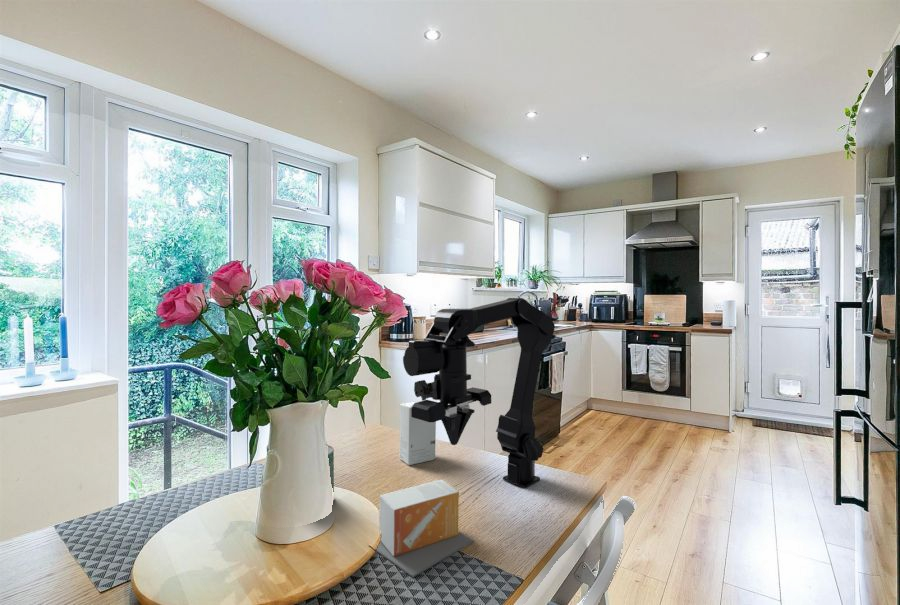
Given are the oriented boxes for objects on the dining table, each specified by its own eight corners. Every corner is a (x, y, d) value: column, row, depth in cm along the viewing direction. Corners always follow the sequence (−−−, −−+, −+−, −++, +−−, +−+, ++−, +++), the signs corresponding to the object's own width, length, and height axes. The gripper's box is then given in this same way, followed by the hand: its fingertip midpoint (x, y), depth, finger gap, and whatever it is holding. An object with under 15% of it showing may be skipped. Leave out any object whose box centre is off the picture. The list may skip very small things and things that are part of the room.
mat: (427, 516, 86) (427, 515, 86) (473, 541, 77) (473, 539, 77) (368, 545, 76) (368, 543, 76) (412, 577, 67) (412, 575, 67)
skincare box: (408, 466, 111) (408, 408, 110) (398, 458, 116) (398, 403, 115) (436, 459, 115) (437, 403, 115) (425, 452, 120) (426, 399, 120)
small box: (459, 535, 79) (393, 558, 72) (441, 519, 84) (378, 539, 77) (459, 490, 78) (393, 510, 71) (441, 477, 84) (378, 494, 77)
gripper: (454, 359, 102) (455, 425, 103) (392, 371, 89) (394, 447, 89) (492, 365, 95) (493, 436, 95) (430, 379, 81) (432, 461, 82)
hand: (453, 444), depth 90 cm, fingers closed
